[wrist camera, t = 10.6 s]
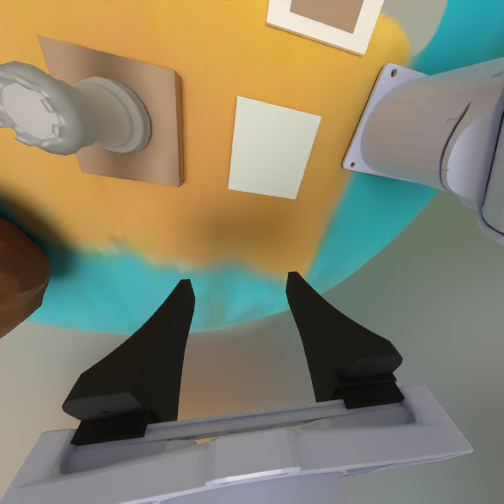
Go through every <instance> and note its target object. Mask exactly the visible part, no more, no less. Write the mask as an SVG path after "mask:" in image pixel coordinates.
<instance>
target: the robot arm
mask: <svg viewBox="0 0 504 504" xmlns="http://www.w3.org/2000/svg"><path fill="white" fill-rule="evenodd" d="M392 70H393V71H394V74H393V76H392V77H391V72H392ZM352 162H353V165H352V166H351V167H350V165H351V163H352ZM342 167H343V168H345V169H348V170H353V171H358V172H364V173H369V174H374V175H379V176H384V177H389V178H394V179H399V180H404V181H409V182H415V183H419V184H422V185H425V186H428V187H432V188H435V189H438V190H442V191H445V192H449V193H452V194H455V195H456V196H457V197H458V198H459V205H461V206H464V207H467V208H470V209H473V210H476V211H479V212H478V215H477V223H478V226H479V229H480V230H481V231H482V232H483V233H484V234H485V235H486V236H488V237H489V238H490V239H492V240H494V241H496V242H498V243H500V244H502V245H504V57H501V58H497V59H493V60H489V61H485V62H481V63H477V64H473V65H469V66H465V67H462V68H458V69H454V70H450V71H446V72H442V73H438V74H434V75H427V74H424V73H421V72H418V71H415V70H412V69H409V68H406V67H403V66H400V65H397V64H394V63H389V64H386V65H385V66H384V67H383V68H382V70H381V72H380V74H379V76H378V79H377V81H376V84H375V86H374V88H373V91H372V93H371V96H370V98H369V100H368V103H367V105H366V108H365V110H364V112H363V115H362V117H361V120H360V122H359V124H358V127H357V129H356V132H355V134H354V136H353V139H352V141H351V144H350V146H349V148H348V151H347V153H346V156H345V158H344V160H343V163H342ZM286 295H287V299H288V303H289V306H290V309H291V311H292V314H293V317H294V319H295V322H296V324H297V327H298V330H299V333H300V336H301V339H302V343H303V347H304V351H305V355H306V359H307V362H308V367H309V371H310V375H311V380H312V384H313V389H314V394H315V399H316V403H310V404H302V405H294V406H287V407H279V408H271V409H264V410H256V411H248V412H240V413H233V414H225V415H218V416H210V417H203V418H194V419H187V420H179V421H177V417H178V405H179V394H180V385H181V375H182V367H183V360H184V353H185V347H186V342H187V338H188V334H189V330H190V325H191V321H192V317H193V313H194V306H195V296H194V292H193V288H192V285H191V281H190V279H183V280H180V282H179V283H178V284H177V286H176V287H175V288H174V290H173V291H172V292H171V294H170V295H169V296H168V298H167V299H166V300H165V301H164V303H163V304H162V305H161V306H160V307H159V308H158V310H157V311H156V312H155V313H154V314H153V315H152V316H151V317H150V319H149V320H148V321H147V322H146V323H145V324H144V325H143V326H142V327H141V328H140V329H138V330H137V331H136V332H135V333H134V334H133V335H132V336H131V337H130V338H129V339H127V340H126V341H125V342H124V343H123V344H121V345H120V346H119V347H118V348H116V349H115V350H114V351H113V352H111V353H110V354H109V355H107V356H106V357H105V358H103V359H102V360H101V361H99V362H98V363H96V364H95V365H93V366H92V367H91V368H89V369H88V370H86V371H85V372H83V373H82V374H81V375H80V377H79V378H78V380H77V381H76V383H75V385H74V386H73V388H72V390H71V391H70V393H69V395H68V397H67V398H66V400H65V402H64V403H63V405H62V409H63V411H64V412H66V413H67V414H69V415H71V416H73V417H75V418H77V419H79V420H81V423H80V425H79V427H78V429H62V430H54V431H46V432H44V433H42V434H41V436H40V438H39V439H38V441H37V442H36V444H35V446H34V447H33V449H32V450H31V452H30V454H29V455H28V457H27V459H26V460H25V462H24V463H23V465H22V467H21V469H20V470H19V472H18V473H17V475H16V477H15V478H14V480H13V481H12V483H11V485H10V486H9V488H8V490H7V491H6V493H5V495H4V496H3V498H2V499H1V501H0V504H351V501H350V498H349V495H348V492H347V489H346V486H345V483H344V480H343V478H344V477H349V476H355V475H359V474H365V473H371V472H377V471H381V470H387V469H393V468H399V467H404V466H410V465H415V464H421V463H427V462H433V461H439V460H443V459H447V458H450V457H455V456H459V455H463V454H466V453H470V452H473V448H472V447H471V445H470V444H469V443H468V442H467V440H466V439H465V437H464V436H463V435H462V433H461V432H460V431H459V429H458V428H457V427H456V425H455V424H454V423H453V422H452V420H451V419H450V418H449V416H448V415H447V414H446V412H445V411H444V410H443V408H442V407H441V406H440V404H439V403H438V402H437V400H436V399H435V398H434V396H433V395H432V394H431V393H430V391H429V390H428V388H427V387H426V386H425V385H424V384H415V385H408V386H402V387H400V388H398V387H397V385H396V383H395V382H396V378H395V376H394V375H393V372H394V371H395V370H396V369H397V368H398V367H399V366H400V365H401V363H402V360H403V358H402V357H401V355H400V354H399V352H398V351H397V350H396V348H395V347H394V346H393V344H392V343H391V342H390V341H389V340H387V339H385V338H383V337H381V336H379V335H377V334H375V333H373V332H371V331H370V330H368V329H366V328H364V327H363V326H361V325H359V324H357V323H356V322H354V321H353V320H351V319H350V318H348V317H347V316H345V315H344V314H342V313H341V312H340V311H338V310H337V309H336V308H334V307H333V306H332V305H331V304H329V303H328V302H327V301H326V300H325V299H323V298H322V297H321V296H320V295H319V294H318V293H317V292H316V291H315V290H314V289H313V288H312V287H311V286H310V285H309V284H308V283H307V282H306V281H305V280H304V279H303V278H302V277H301V276H300V274H299V273H298V272H297V271H295V272H288V279H287V286H286ZM298 425H302V430H291V429H288V428H283V427H290V426H298ZM276 428H278V429H276ZM254 431H255V432H254ZM247 432H248V433H247ZM218 436H222V437H218ZM210 437H217V438H215V439H213V440H211V441H210V442H206V443H201V444H197V442H196V441H193V440H197V439H204V438H210ZM196 444H197V445H196Z"/></svg>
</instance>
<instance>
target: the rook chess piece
mask: <svg viewBox="0 0 504 504" xmlns="http://www.w3.org/2000/svg"><path fill="white" fill-rule="evenodd" d="M0 127H11V128H12V129H14V130H15V131H16V132H17V133H16V136H15V139H16V140H18V141H20V142H22V143H24V144H26V145H28V146H37V147H39V148H41V149H43V150H45V151H47V152H49V153H53V154H59V155H69V154H73V153H77V152H78V151H79V150H80V149H81V148H82V147H86V146H90V145H93V144H94V143H95V142H96V143H97V144H99V145H100V146H102V147H104V148H106V149H108V150H110V151H114V152H119V153H133V152H136V151H140V150H141V149H142V148H143V147H144V146H145V145H146V144H147V143H148V140H149V137H150V133H151V130H150V120H149V117H148V115H147V112H146V110H145V108H144V105H143V104H142V102H141V101H140V100H139V99H138V97H137V96H136V95H135V94H134V92H133V91H132V90H130V89H129V88H127V87H126V86H125V85H123V84H122V83H120V82H119V81H116V80H112V79H108V78H104V77H99V76H94V77H90V78H86V79H83V80H81V81H80V82H79V83H78V85H77V86H76V87H73V86H71V85H70V84H68V83H66V82H65V81H62V80H58V79H55V78H53V77H52V76H50V75H48V74H47V73H45V72H43V71H42V70H40V69H39V68H37V67H35V66H33V65H29V64H25V63H21V62H17V61H13V62H9V63H5V64H2V65H0Z"/></svg>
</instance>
